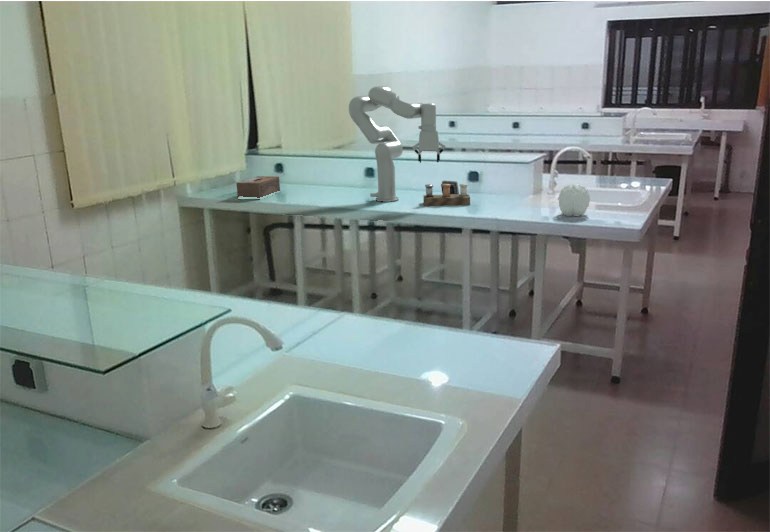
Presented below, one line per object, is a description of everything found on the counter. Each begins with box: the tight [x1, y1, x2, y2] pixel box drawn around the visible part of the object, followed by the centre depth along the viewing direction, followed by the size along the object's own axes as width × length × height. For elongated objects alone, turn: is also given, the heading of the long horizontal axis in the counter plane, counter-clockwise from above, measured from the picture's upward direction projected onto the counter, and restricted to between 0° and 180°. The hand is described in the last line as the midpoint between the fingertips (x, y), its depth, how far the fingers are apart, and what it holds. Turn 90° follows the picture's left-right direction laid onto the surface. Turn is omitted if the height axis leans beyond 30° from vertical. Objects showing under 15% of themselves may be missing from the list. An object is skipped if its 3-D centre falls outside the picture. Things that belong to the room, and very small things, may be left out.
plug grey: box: [424, 183, 434, 197], centre depth 343 cm, size 4×4×7 cm
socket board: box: [423, 193, 471, 207], centre depth 344 cm, size 24×10×4 cm, turn 88°
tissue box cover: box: [235, 175, 281, 198], centre depth 387 cm, size 26×14×10 cm, turn 163°
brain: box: [557, 183, 591, 217], centre depth 307 cm, size 14×18×18 cm
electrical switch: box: [440, 180, 460, 195], centre depth 362 cm, size 9×5×9 cm, turn 57°
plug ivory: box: [459, 183, 469, 197], centre depth 342 cm, size 4×4×7 cm
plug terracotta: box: [441, 183, 450, 197], centre depth 343 cm, size 4×4×7 cm
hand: (429, 162), depth 339 cm, fingers open, 8 cm apart
